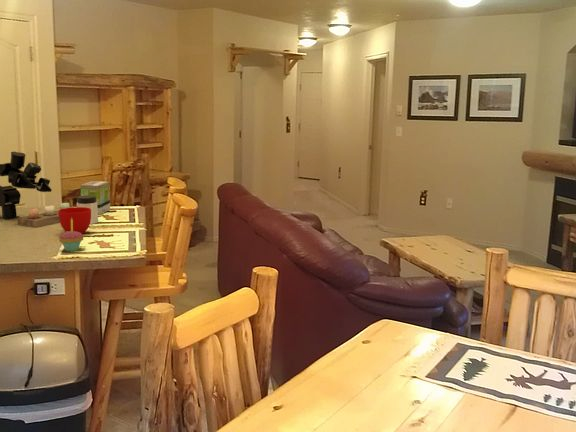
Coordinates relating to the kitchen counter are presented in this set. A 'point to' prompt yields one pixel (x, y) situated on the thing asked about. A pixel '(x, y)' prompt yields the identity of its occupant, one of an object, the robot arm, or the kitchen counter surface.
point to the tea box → (98, 194)
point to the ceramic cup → (75, 218)
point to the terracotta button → (33, 213)
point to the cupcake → (71, 239)
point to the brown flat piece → (39, 220)
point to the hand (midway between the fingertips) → (43, 189)
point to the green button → (64, 205)
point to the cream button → (49, 210)
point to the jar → (89, 206)
